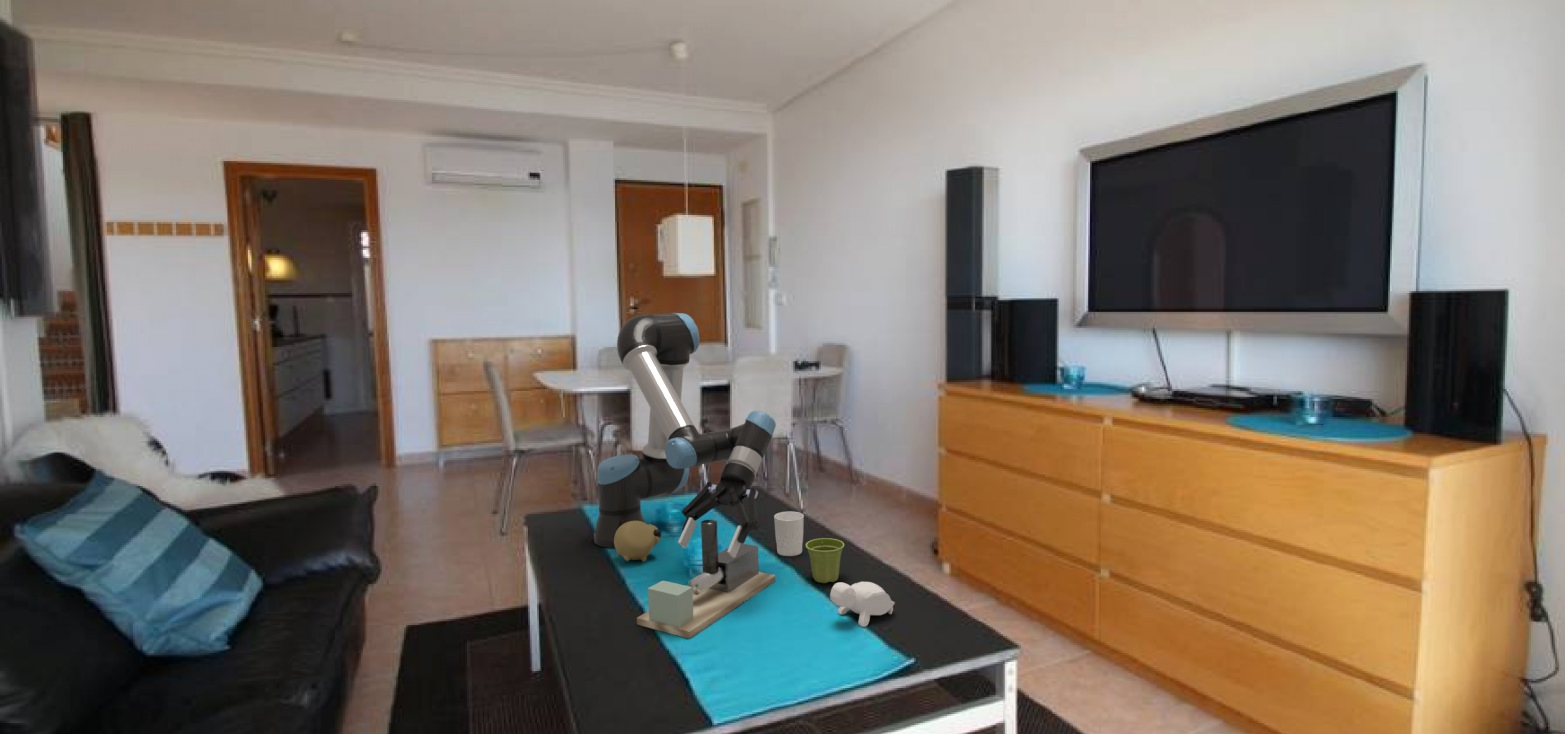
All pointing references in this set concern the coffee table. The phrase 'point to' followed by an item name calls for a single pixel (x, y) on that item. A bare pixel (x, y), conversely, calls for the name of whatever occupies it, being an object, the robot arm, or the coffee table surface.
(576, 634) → the coffee table surface
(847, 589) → the white turtle figurine
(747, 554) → the outer sleeve
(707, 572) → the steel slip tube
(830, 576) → the plant pot
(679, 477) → the robot arm
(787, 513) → the white cup
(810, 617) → the coffee table surface
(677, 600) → the socket block
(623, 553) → the toy pig
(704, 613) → the birch base board
